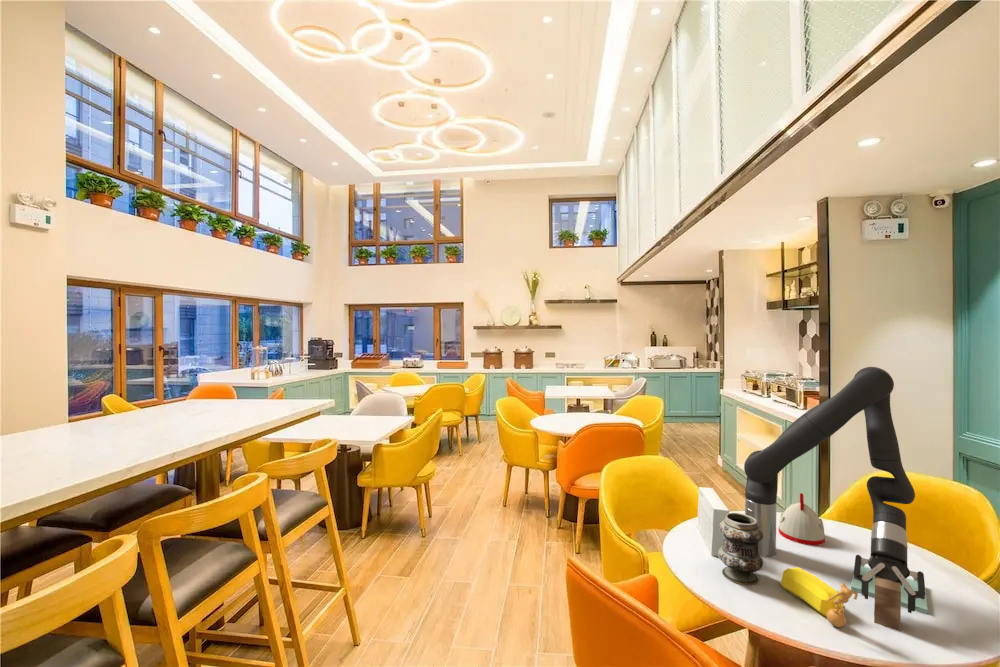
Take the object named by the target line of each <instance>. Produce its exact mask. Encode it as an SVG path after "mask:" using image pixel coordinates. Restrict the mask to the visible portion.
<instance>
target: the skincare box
mask: <svg viewBox="0 0 1000 667" xmlns="http://www.w3.org/2000/svg"><path fill="white" fill-rule="evenodd" d="M697 505H698V506H697V523H696V528H697V530H698V533H699V535H700V536H701V538H702V540H703V542H704V544H705V546H706V548H707V550H708V552H709V554H710V555H711V556H713V557H719V556H718V551H719V549H720V548H721V547H722V546H723V534H722V533H721V531H720V529H719V525H720V523H721V522H722V521H723V520H725V517H726V514H728V513H730V510H729V508H728V507H727V506H726V505H725V503H724V502H723V500H722V499H721V498H720V497H719V495H718V494H717V492H716V491H715V490H714V488H713V487H704V486H703V487H701V486H699V487H698V504H697Z"/></svg>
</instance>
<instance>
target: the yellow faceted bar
mask: <svg viewBox="0 0 1000 667" xmlns="http://www.w3.org/2000/svg"><path fill="white" fill-rule="evenodd" d="M780 584H781V586H782V588H784V589H785V590H786V591H788V593H791V594H792V595H794V596H795V597H797V598H798V599H799V598H800V599H801V600H802V601H804V602H805V603H807V604H808V605H809V606H810V607H812V608H813V609H814V610H816V611H817V612H818V613H820V614H821V615H822V616H824V617H827V612H828V610H830V609H837V608H836V606H835V604H834V602H833V601H834V600H836V599H838V598H840V599H841V595H839V596H837V597H835V598H833V599H831V600H829V601H828V602H826V601H827V599H829V598H830V597H832V596H834V595H835V594H837V593H838V592H839V591H837V590H836V589H835V588H834V587H832V586H830V585H829V584H827V583H826V582H825V581H824V580H822V579H820V578H819V577H817V575H814V574H812V573H810V572H809V571H807V570H804V569H802V568H800V567H798V566H796V567H793V568H789V567H788V568H786V569H785V570H783V572H782V577H781V581H780ZM837 605H838V606H839V609H840V610H841V609H842V606H841V603H840V604H837ZM842 613H843V614H844V615H845V610H844V611H842Z"/></svg>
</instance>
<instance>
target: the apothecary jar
mask: <svg viewBox="0 0 1000 667" xmlns="http://www.w3.org/2000/svg"><path fill="white" fill-rule="evenodd" d="M719 529H720V531H721V533H722V534H723V546H722V547H721V548H720V549H719V551H718V556H717V557H718V559H719V560H720V561H721V562H722V563H723V564H724V565H725V567H723V569H722V571H721V573H722V576H723V577H725V578H726V579H727V580H728V581H731V582H732V583H735V584H737V585H744V586H754V585H757V584H759V581H760V579H759V577H758V575H757V574H756V572H758V571H760V570H761V569H762V568H763V566H764V560H763V558H762V555H759V553H758V542H759V541H761V540H762V538H763V532H762V530H761V529H760V528H759V527H758V525H757V521H756V520H755V519H754V518H753V517H751V516H748V515H745V513H741V512H729V513H728V514H726V517H725V520H723V521H722V522H721V523H720V525H719Z"/></svg>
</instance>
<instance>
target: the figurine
mask: <svg viewBox="0 0 1000 667" xmlns="http://www.w3.org/2000/svg"><path fill="white" fill-rule="evenodd" d="M840 588H841V589H840V590H839V591H837V592H838V593H837V594H835V595H834V596H832V597H830V598H829V599H827V601H826V602H828V601H829V600H831V599H833V598H835V597H837V596H839V595H841V599H840V598H838V599H836V600H834V601H833V602H834V604H835V606H836V608H837V609H830V610H828V612H827V616H826V618H827V620H828V622H829V623H830V624H831V625H832V626H834V627H836V628H843V627H844V626H845V625H846V623H847V618H846V616H845V613H844V614H843V613H842V611H844V612H845V608H846V606H845V604H847V603H849V601H850V600H849V599H850V598H853V600H856V601H857V599H858V595H859V593H858V592H854V591H852V590H851V588H849V587H848V586H847V585H846V584H845V583H844V582H841V584H840ZM853 595H854V596H853ZM852 596H853V597H852ZM840 603H841V606H842V609H841V610H840V609H839V606H838V605H837V604H840Z"/></svg>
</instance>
